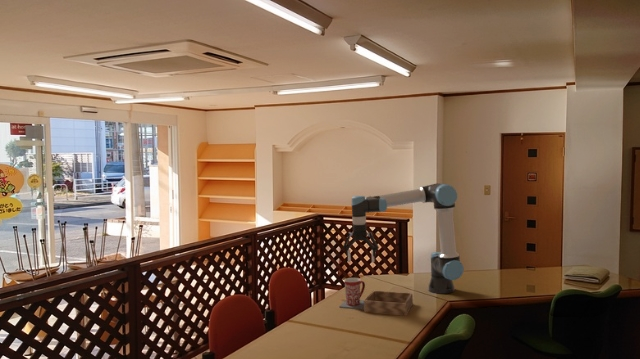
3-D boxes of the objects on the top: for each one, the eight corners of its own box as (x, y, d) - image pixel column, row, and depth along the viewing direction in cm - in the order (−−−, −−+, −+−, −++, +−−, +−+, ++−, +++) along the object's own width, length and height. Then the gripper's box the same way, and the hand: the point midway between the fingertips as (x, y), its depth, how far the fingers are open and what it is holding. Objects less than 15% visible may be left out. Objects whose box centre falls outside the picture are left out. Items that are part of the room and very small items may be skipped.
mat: (370, 301, 267) (370, 300, 267) (364, 309, 254) (364, 308, 254) (347, 300, 272) (347, 299, 272) (339, 307, 259) (339, 306, 259)
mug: (350, 307, 256) (350, 282, 256) (341, 303, 264) (341, 279, 264) (369, 303, 263) (369, 279, 262) (360, 299, 271) (359, 275, 270)
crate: (412, 304, 261) (412, 293, 261) (406, 315, 242) (405, 303, 242) (373, 301, 269) (373, 290, 269) (364, 312, 250) (363, 300, 250)
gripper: (382, 222, 264) (384, 260, 265) (339, 223, 272) (341, 259, 273) (380, 224, 257) (381, 263, 258) (335, 224, 265) (337, 262, 266)
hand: (361, 261), depth 265 cm, fingers open, 13 cm apart
